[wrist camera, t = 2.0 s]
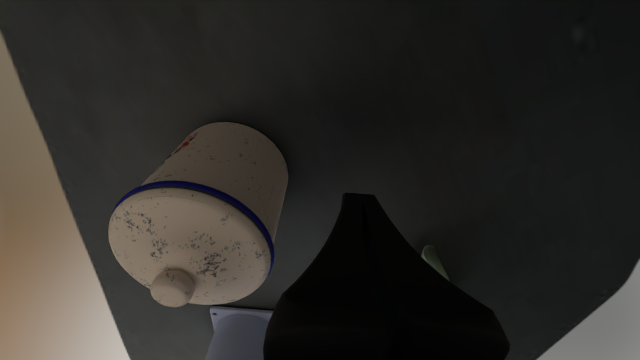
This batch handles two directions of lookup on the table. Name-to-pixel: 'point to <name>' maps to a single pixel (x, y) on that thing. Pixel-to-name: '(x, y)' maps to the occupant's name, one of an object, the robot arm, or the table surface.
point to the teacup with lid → (204, 218)
